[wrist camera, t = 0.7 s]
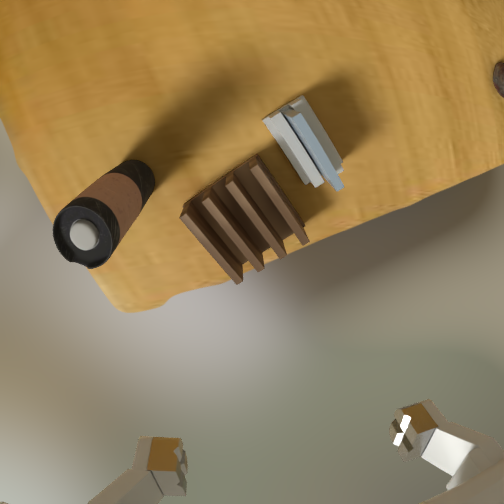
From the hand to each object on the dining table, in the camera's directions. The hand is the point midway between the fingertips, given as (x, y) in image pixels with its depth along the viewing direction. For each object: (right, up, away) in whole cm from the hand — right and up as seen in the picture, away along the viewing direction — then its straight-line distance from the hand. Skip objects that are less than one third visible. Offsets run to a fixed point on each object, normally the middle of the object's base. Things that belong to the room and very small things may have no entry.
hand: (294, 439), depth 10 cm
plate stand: (+6, +24, +35) cm, 43 cm away
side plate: (+6, +23, +34) cm, 42 cm away
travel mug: (-20, +18, +37) cm, 46 cm away
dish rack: (-3, +13, +40) cm, 43 cm away
